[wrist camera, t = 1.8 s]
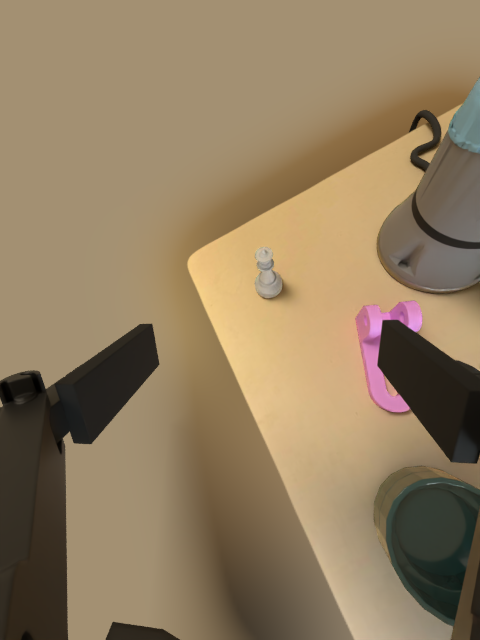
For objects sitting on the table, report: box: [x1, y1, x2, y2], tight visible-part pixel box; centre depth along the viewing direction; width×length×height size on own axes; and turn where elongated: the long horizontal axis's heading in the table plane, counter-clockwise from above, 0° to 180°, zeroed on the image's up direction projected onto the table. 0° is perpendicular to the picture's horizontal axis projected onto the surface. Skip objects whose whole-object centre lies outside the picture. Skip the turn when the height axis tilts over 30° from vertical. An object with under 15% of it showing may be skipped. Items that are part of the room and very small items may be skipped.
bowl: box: [374, 466, 480, 626], centre depth 27 cm, size 12×12×6 cm
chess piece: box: [255, 247, 283, 298], centre depth 38 cm, size 4×4×10 cm
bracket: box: [355, 301, 422, 412], centre depth 32 cm, size 13×6×7 cm, turn 2°
